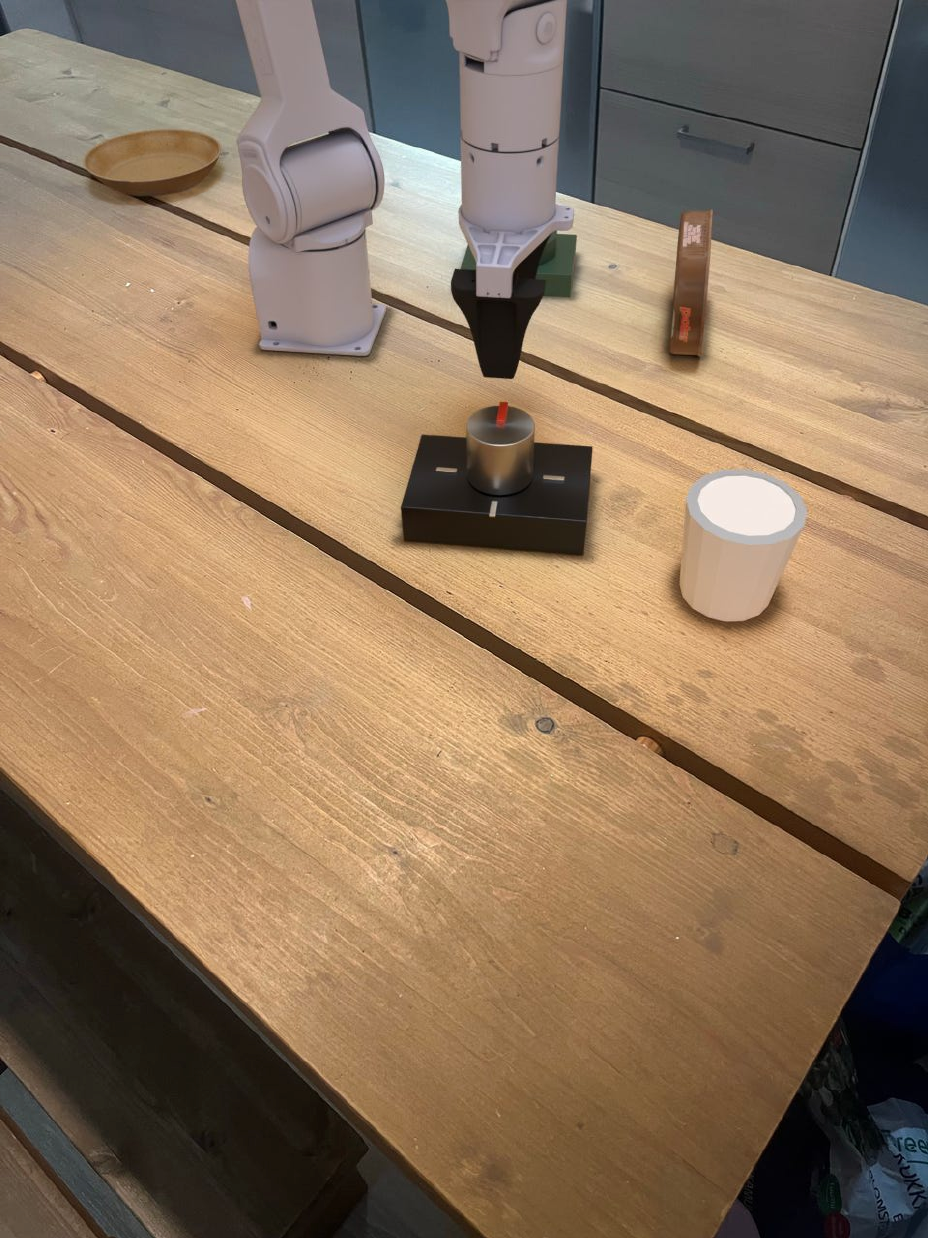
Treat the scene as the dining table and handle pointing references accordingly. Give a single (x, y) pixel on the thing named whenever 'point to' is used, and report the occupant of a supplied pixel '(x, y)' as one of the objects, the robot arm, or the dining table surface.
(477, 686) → the dining table surface
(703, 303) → the brown rectangular box
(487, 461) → the knob
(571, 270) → the button box
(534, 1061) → the dining table surface
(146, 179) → the plant saucer
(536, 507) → the panel
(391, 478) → the dining table surface
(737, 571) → the white cylinder
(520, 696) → the dining table surface
